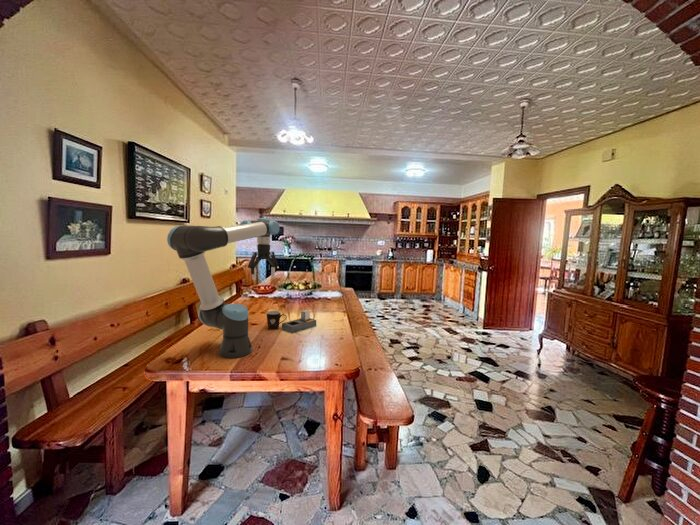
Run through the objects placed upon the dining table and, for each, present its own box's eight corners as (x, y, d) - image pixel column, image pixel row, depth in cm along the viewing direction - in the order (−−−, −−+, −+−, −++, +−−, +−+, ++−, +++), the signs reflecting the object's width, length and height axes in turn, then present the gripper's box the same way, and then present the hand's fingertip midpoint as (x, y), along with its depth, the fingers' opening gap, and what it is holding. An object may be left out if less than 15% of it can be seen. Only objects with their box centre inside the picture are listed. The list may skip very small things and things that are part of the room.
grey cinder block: (292, 333, 175) (292, 326, 174) (281, 329, 181) (281, 322, 181) (316, 326, 190) (316, 319, 190) (305, 322, 197) (305, 316, 196)
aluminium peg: (305, 327, 187) (305, 312, 186) (300, 326, 189) (301, 311, 188) (309, 326, 190) (309, 311, 189) (305, 324, 192) (305, 309, 191)
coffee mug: (263, 329, 181) (263, 313, 180) (271, 325, 189) (271, 310, 188) (280, 331, 178) (280, 315, 177) (287, 327, 186) (287, 312, 185)
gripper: (248, 244, 164) (248, 281, 166) (284, 244, 184) (284, 277, 186) (241, 243, 169) (241, 279, 171) (276, 243, 188) (276, 276, 190)
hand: (263, 278), depth 178 cm, fingers open, 13 cm apart
